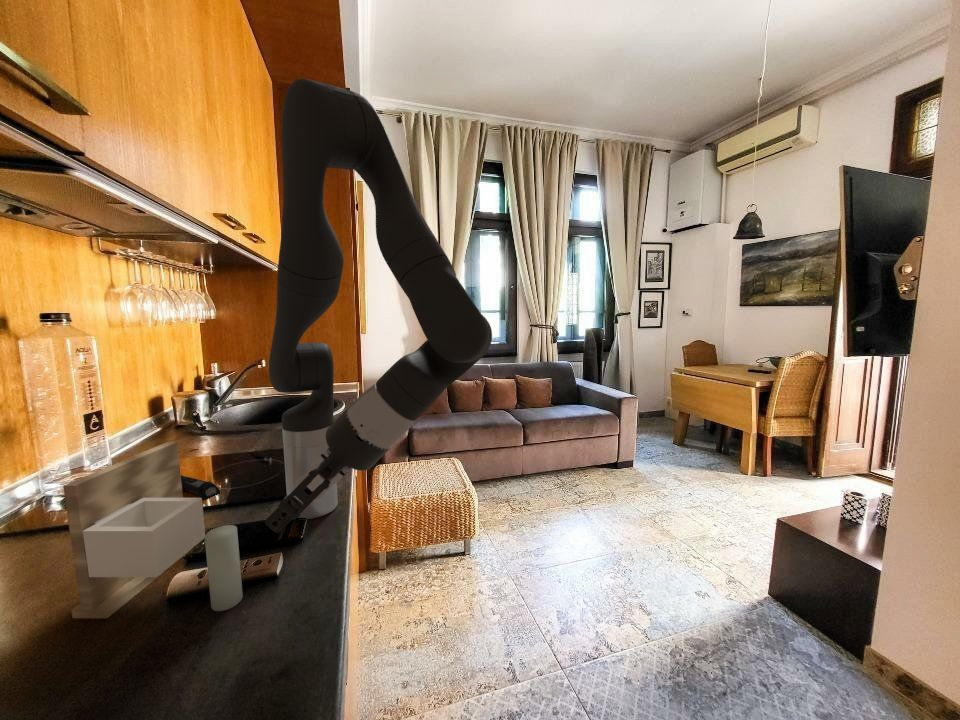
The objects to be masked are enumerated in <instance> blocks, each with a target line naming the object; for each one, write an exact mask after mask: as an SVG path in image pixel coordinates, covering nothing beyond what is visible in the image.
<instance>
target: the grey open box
mask: <svg viewBox="0 0 960 720" xmlns="http://www.w3.org/2000/svg"><path fill="white" fill-rule="evenodd" d="M203 506H204V505H203V500H202V498H200V497H183V498H142V499H140V500H138V501H136V502H134V503H133V504H128V505H126V506H124V507H122V508H120V509H119V510H117V511H115V512H113V513H111V514H109V515H108V516H106V517H104V518H102V519H100V520H98V521H97V522H95V523H94V525H93V526H91V527H89V528H87V529H86V530H84V531H83V537H84V544H85V551H86V558H87V565H88V573H89V577H157V578H159V576H161V575H162V574H164V572H166V571H167V570H168V569H169V568H170V567H172V566H173V565H174V564H175V563H176V562H178V561H179V560H180V559H181V558H182V557H184V556H185V555H186V554H187V553H189V552H190V551H191V550H192V549H193V548H194V546H195V547H196V546H197V545H199V543H201V542H202V541H203V540H205V535H206V529H205V518H204V517H205V515H204V507H203ZM189 550H190V551H189ZM188 551H189V552H188ZM183 555H184V556H183ZM177 560H178V561H177ZM172 564H173V565H172ZM171 565H172V566H171ZM166 569H167V570H166ZM160 574H161V575H160Z"/></svg>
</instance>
